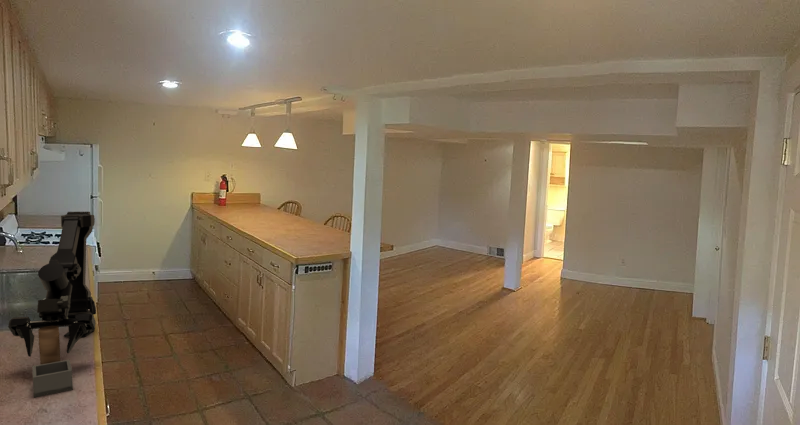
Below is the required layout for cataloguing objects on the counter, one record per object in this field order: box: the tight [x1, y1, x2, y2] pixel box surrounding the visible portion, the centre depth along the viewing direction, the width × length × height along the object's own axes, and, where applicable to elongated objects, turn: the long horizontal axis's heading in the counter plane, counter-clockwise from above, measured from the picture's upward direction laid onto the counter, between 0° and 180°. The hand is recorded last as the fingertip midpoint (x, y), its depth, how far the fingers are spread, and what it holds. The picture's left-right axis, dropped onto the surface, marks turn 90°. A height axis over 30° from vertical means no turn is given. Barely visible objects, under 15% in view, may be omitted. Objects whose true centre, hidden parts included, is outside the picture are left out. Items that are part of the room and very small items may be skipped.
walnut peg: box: [37, 326, 62, 365], centre depth 136 cm, size 4×4×13 cm
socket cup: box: [31, 359, 74, 398], centre depth 130 cm, size 8×8×5 cm
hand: (48, 354), depth 134 cm, fingers open, 8 cm apart
